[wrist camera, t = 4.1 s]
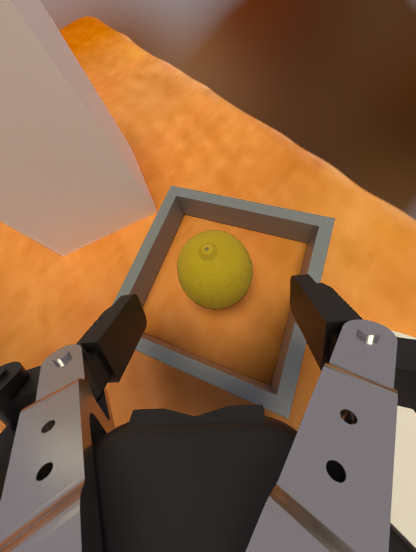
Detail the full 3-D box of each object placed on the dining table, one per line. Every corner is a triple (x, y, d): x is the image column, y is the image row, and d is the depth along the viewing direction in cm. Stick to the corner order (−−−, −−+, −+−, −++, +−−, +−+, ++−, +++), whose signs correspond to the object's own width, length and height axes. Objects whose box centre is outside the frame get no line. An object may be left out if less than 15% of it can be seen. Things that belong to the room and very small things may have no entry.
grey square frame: (119, 335, 19) (98, 333, 16) (179, 205, 23) (171, 185, 20) (280, 405, 16) (288, 419, 13) (321, 236, 19) (334, 218, 16)
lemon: (230, 249, 20) (223, 193, 13) (262, 295, 18) (276, 262, 11) (182, 276, 20) (147, 237, 13) (209, 326, 18) (186, 314, 11)
